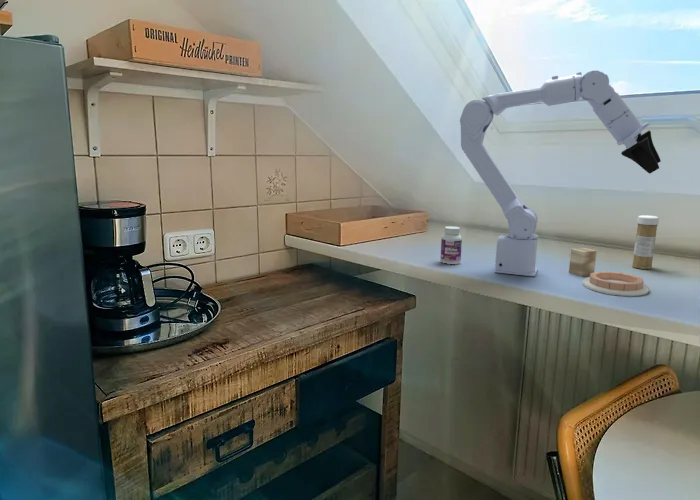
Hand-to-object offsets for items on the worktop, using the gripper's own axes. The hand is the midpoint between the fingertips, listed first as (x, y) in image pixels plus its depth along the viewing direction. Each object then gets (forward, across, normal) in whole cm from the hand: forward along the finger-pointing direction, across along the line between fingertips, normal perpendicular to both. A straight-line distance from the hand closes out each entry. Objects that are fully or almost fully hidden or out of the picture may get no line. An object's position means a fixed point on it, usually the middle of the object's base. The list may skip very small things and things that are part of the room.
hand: (655, 167), depth 108 cm
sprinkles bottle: (+22, +12, +18) cm, 31 cm away
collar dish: (+17, -11, +19) cm, 28 cm away
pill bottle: (-7, -9, +50) cm, 52 cm away
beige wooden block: (+13, -2, +26) cm, 29 cm away
